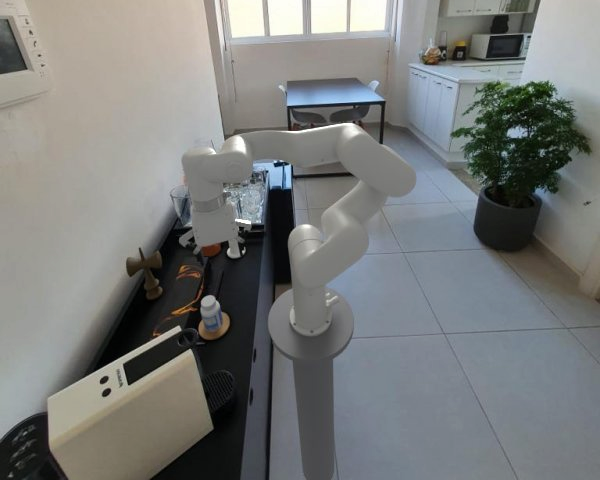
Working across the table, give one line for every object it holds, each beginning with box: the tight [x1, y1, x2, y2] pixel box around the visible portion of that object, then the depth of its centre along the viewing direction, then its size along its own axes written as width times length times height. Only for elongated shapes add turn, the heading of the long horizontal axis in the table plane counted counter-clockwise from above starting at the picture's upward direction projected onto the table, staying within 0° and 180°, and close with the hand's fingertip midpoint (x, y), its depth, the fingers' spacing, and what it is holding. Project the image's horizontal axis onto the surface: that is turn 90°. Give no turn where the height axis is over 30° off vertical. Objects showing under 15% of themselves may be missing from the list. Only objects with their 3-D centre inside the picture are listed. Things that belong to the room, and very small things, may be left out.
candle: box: [226, 200, 246, 259], centre depth 116 cm, size 7×7×25 cm
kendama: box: [125, 246, 163, 301], centre depth 100 cm, size 6×10×20 cm, turn 110°
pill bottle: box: [200, 294, 223, 332], centre depth 90 cm, size 6×5×10 cm
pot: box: [202, 242, 222, 258], centre depth 122 cm, size 8×8×5 cm
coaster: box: [198, 311, 231, 341], centre depth 92 cm, size 9×9×1 cm
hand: (222, 257), depth 79 cm, fingers open, 9 cm apart
